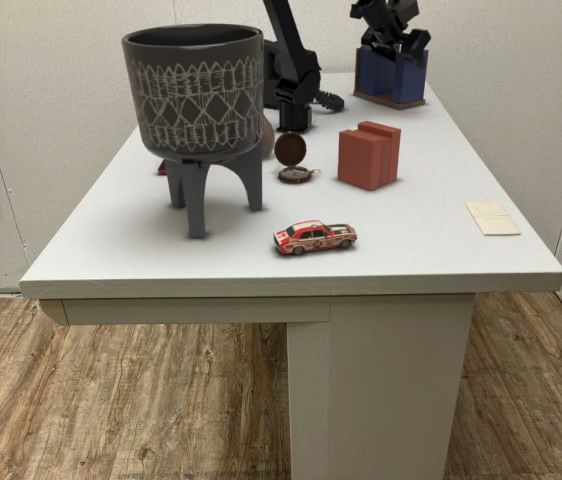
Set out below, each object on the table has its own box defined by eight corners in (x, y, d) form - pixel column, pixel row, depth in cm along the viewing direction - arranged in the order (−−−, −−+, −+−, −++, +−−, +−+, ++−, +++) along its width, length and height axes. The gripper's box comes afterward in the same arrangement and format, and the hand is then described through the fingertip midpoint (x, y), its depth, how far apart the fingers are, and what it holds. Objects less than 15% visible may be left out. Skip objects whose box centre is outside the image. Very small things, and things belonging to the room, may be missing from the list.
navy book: (400, 104, 147) (405, 54, 141) (391, 101, 150) (396, 52, 143) (423, 99, 151) (428, 50, 144) (414, 96, 153) (419, 48, 146)
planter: (257, 245, 90) (246, 47, 74) (133, 238, 93) (96, 46, 77) (280, 196, 105) (275, 22, 89) (173, 191, 108) (149, 23, 92)
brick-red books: (337, 179, 111) (338, 129, 106) (363, 169, 115) (366, 120, 109) (370, 190, 106) (373, 138, 101) (396, 180, 110) (401, 129, 105)
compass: (282, 185, 109) (281, 144, 105) (274, 171, 115) (273, 131, 111) (325, 181, 110) (325, 140, 106) (314, 167, 117) (315, 128, 112)
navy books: (373, 95, 154) (376, 47, 148) (358, 91, 159) (360, 44, 152) (396, 91, 158) (400, 44, 151) (380, 86, 162) (383, 40, 155)
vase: (271, 162, 119) (269, 116, 114) (237, 161, 120) (234, 115, 115) (278, 151, 125) (277, 106, 119) (246, 150, 126) (243, 105, 120)
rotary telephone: (368, 98, 157) (372, 32, 148) (328, 118, 143) (330, 47, 134) (262, 85, 172) (260, 24, 163) (216, 102, 158) (211, 37, 149)
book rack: (399, 109, 148) (404, 59, 141) (353, 95, 160) (355, 48, 153) (425, 104, 151) (430, 54, 144) (377, 90, 164) (380, 44, 157)
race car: (275, 252, 92) (270, 224, 89) (352, 233, 92) (348, 205, 89) (280, 267, 88) (274, 239, 85) (360, 248, 88) (357, 219, 85)
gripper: (430, -13, 126) (460, 40, 138) (373, -19, 139) (404, 30, 150) (398, 33, 128) (430, 82, 139) (344, 23, 140) (378, 69, 152)
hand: (410, 64), depth 145 cm, fingers open, 9 cm apart
